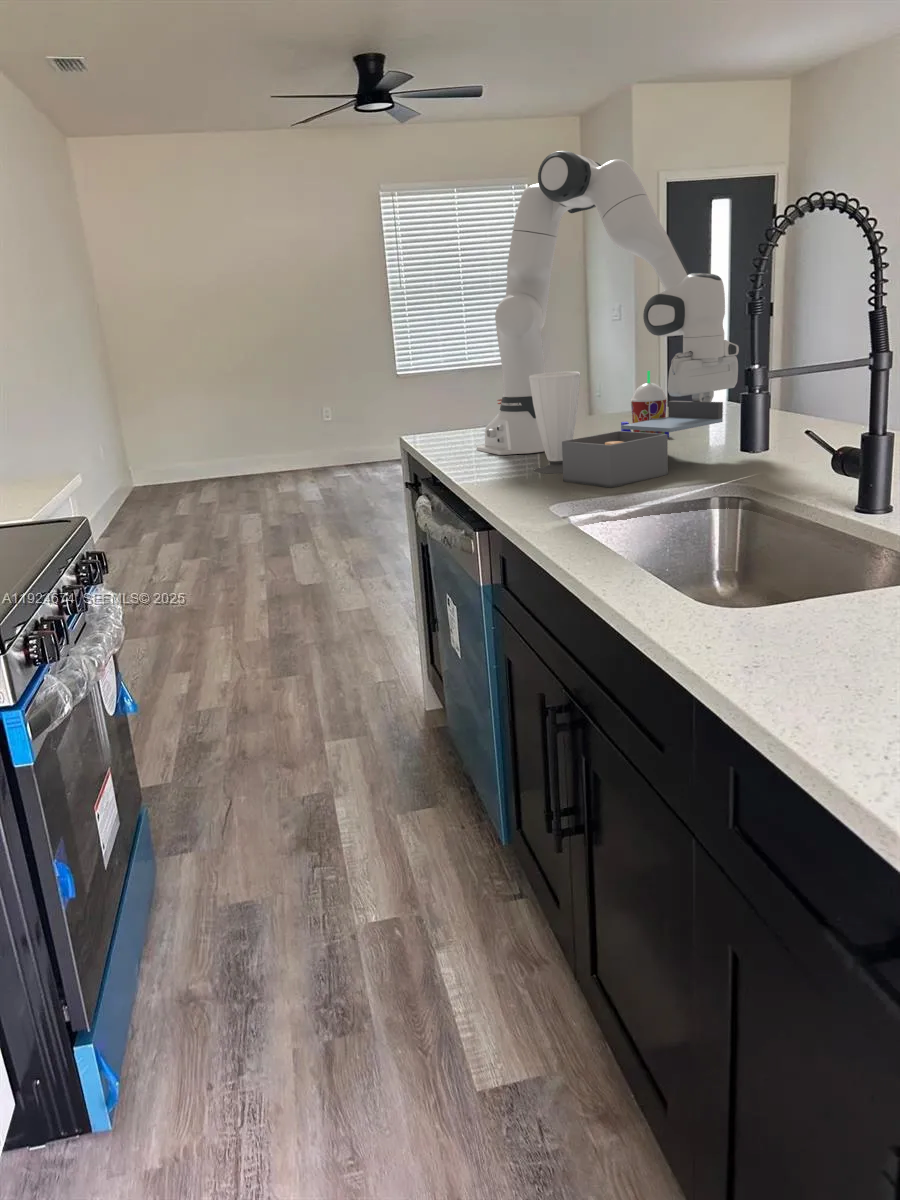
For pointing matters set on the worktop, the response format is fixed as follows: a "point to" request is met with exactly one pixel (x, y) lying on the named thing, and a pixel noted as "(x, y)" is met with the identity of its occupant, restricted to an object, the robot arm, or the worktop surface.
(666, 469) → the box
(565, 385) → the cup
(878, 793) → the worktop surface
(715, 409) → the lid
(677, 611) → the worktop surface
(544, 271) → the robot arm
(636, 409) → the smoothie
